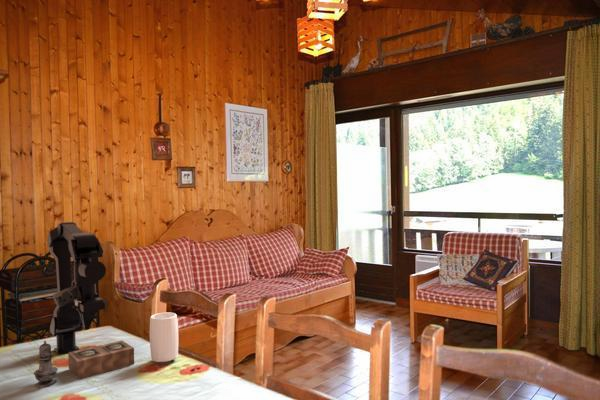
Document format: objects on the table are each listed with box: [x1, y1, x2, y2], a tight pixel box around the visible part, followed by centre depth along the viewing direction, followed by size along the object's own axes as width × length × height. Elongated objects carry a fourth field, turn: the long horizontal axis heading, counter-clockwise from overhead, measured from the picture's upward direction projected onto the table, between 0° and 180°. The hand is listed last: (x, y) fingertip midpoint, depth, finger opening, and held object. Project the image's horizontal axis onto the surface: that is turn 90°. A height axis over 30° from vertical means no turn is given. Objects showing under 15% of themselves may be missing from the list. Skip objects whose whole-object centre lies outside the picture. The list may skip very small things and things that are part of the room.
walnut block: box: [67, 340, 135, 380], centre depth 139 cm, size 16×10×5 cm, turn 131°
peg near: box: [80, 351, 95, 357], centre depth 136 cm, size 4×4×5 cm
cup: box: [149, 311, 179, 363], centre depth 142 cm, size 8×8×14 cm
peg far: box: [108, 344, 122, 350], centre depth 141 cm, size 4×4×5 cm
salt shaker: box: [33, 340, 58, 389], centre depth 127 cm, size 6×6×12 cm
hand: (86, 329), depth 136 cm, fingers closed
